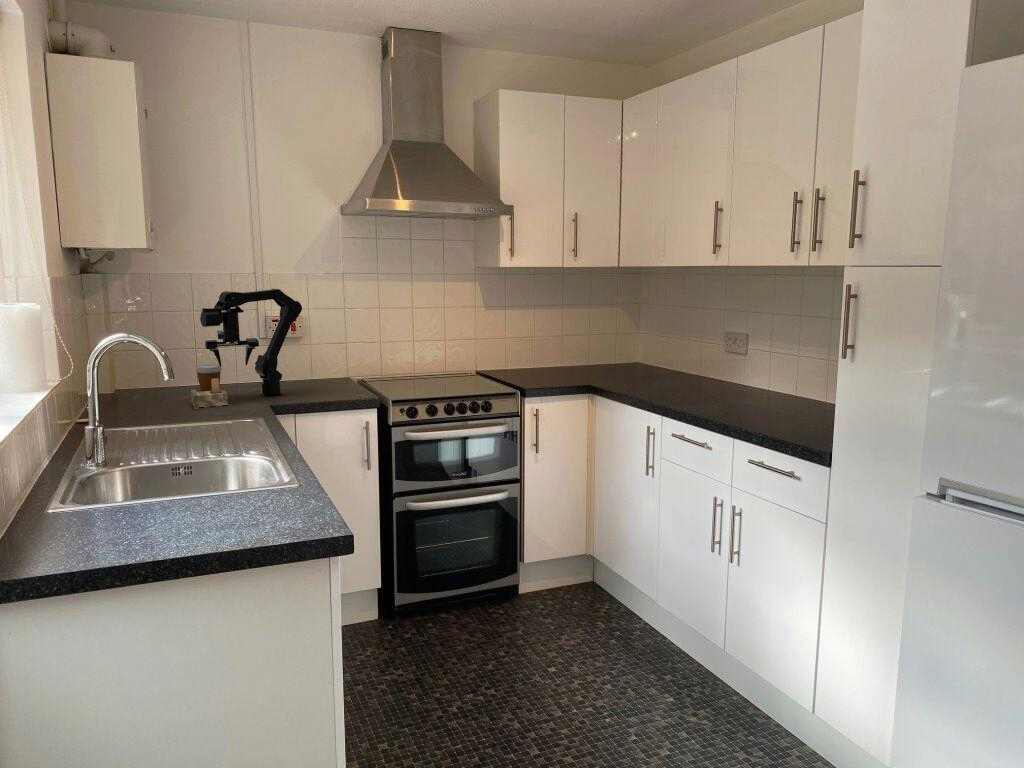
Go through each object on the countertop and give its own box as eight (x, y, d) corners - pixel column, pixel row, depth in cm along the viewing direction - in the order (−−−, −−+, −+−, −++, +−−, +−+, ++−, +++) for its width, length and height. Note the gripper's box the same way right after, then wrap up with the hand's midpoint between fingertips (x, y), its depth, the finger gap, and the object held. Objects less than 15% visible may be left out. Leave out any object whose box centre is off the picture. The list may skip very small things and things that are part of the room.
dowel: (219, 399, 282) (218, 378, 281) (220, 400, 280) (219, 379, 279) (212, 399, 281) (211, 378, 280) (212, 401, 279) (211, 379, 278)
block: (225, 401, 286) (224, 389, 285) (227, 405, 279) (227, 393, 278) (196, 403, 282) (195, 392, 281) (198, 407, 275) (197, 395, 274)
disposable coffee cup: (206, 399, 289) (203, 368, 287) (192, 396, 295) (190, 366, 293) (228, 396, 297) (226, 365, 294) (214, 393, 302) (212, 363, 300)
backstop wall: (196, 402, 284) (195, 389, 283) (199, 409, 272) (198, 395, 271) (191, 403, 283) (190, 389, 282) (194, 409, 272) (193, 396, 271)
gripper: (253, 322, 296) (255, 361, 298) (202, 324, 287) (205, 364, 290) (258, 324, 286) (260, 365, 289) (205, 327, 278) (208, 369, 280)
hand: (233, 366), depth 287 cm, fingers open, 9 cm apart
